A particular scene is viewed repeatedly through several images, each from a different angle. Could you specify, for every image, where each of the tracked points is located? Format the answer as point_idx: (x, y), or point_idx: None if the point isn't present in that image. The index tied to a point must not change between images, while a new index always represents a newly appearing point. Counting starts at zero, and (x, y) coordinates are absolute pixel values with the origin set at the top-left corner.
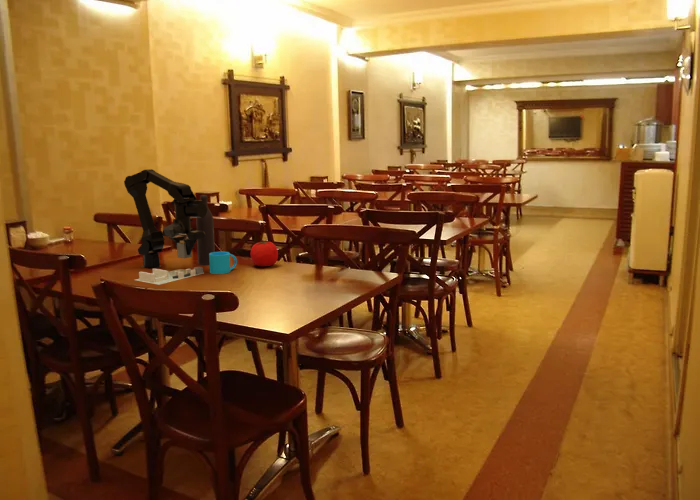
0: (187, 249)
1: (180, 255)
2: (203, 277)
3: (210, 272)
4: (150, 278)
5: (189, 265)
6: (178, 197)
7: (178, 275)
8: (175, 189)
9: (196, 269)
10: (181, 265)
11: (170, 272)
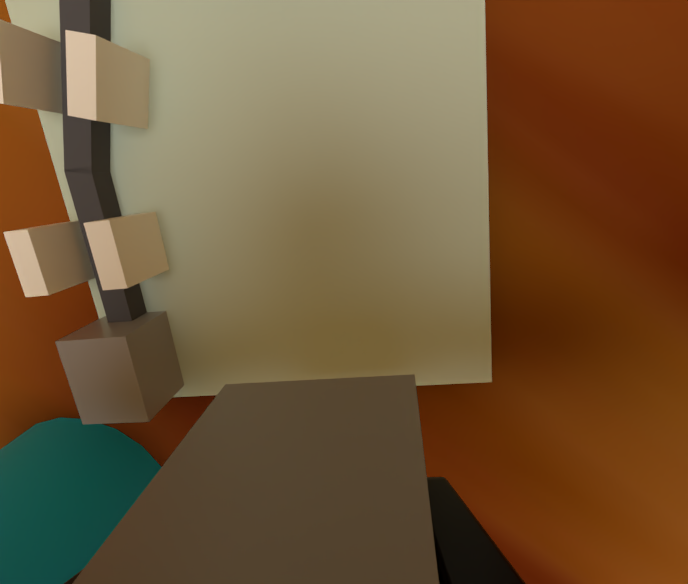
0: None
1: (322, 405)
2: (31, 307)
3: (91, 436)
4: None
5: (599, 567)
6: None
7: (25, 32)
8: None
9: (78, 335)
10: (682, 531)
11: (427, 189)
